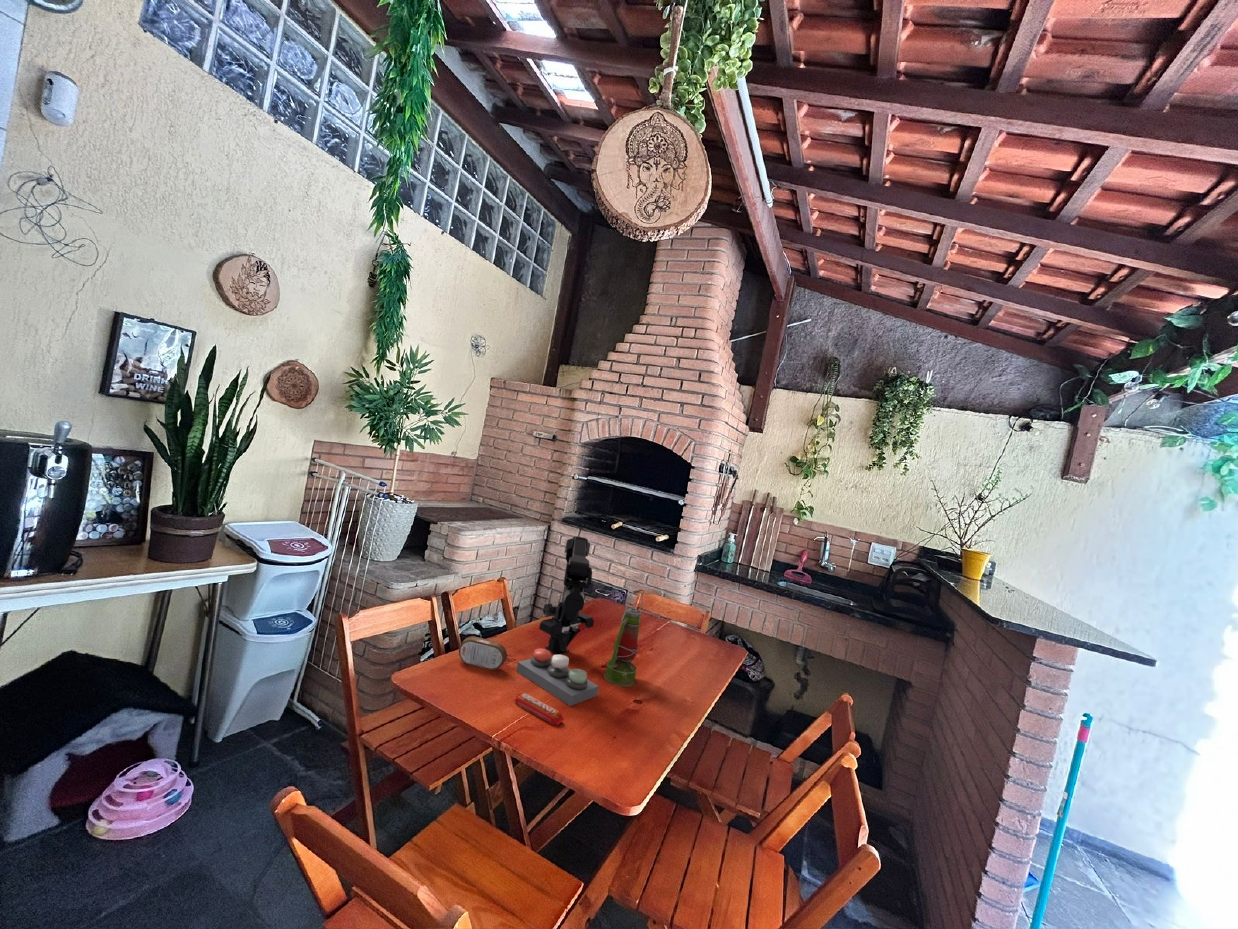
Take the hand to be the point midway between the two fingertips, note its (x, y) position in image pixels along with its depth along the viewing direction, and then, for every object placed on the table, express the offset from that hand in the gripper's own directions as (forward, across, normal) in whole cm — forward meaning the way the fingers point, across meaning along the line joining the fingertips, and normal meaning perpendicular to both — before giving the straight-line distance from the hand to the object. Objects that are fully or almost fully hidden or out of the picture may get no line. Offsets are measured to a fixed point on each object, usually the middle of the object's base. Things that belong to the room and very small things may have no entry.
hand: (562, 650), depth 162 cm
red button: (+6, 0, -8) cm, 10 cm away
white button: (+4, 0, 0) cm, 4 cm away
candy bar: (+11, +17, +10) cm, 22 cm away
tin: (+11, +14, -20) cm, 27 cm away
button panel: (+10, 0, 0) cm, 10 cm away
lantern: (+11, -22, +8) cm, 26 cm away
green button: (+6, 0, +8) cm, 10 cm away
